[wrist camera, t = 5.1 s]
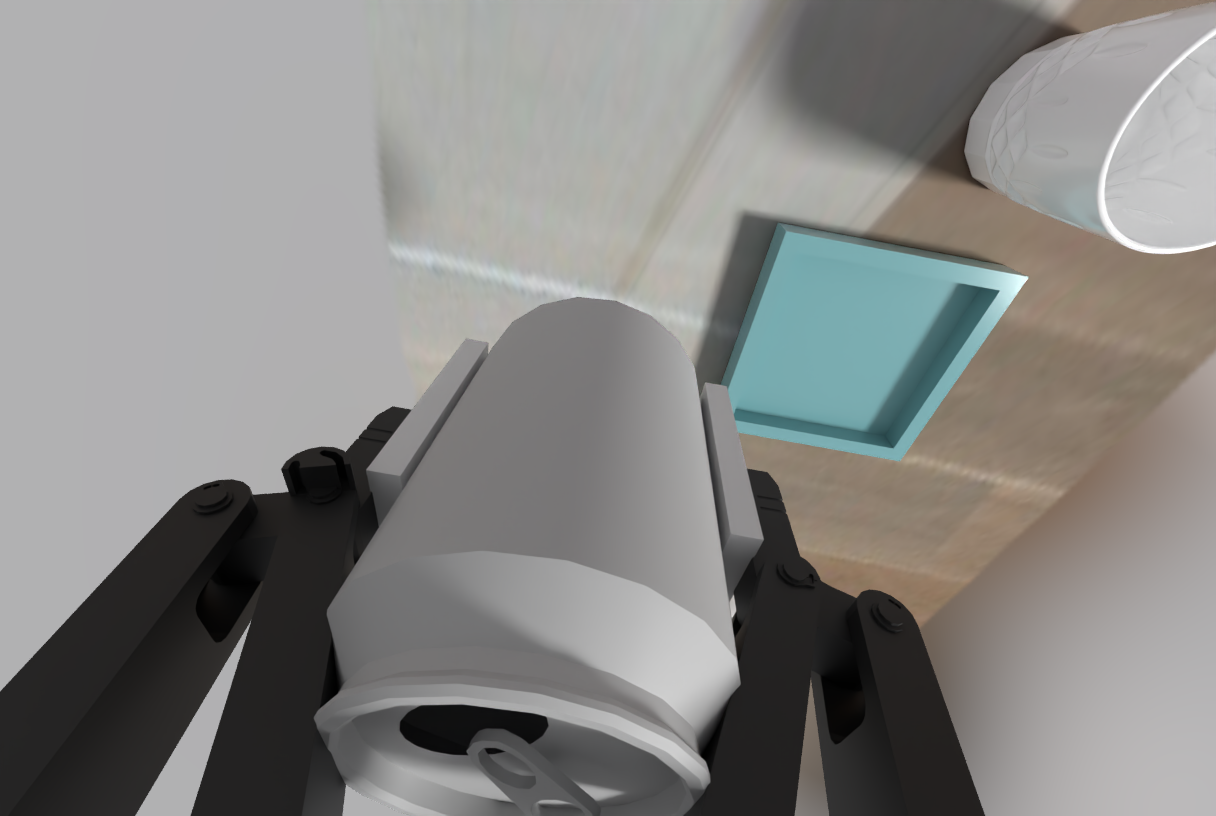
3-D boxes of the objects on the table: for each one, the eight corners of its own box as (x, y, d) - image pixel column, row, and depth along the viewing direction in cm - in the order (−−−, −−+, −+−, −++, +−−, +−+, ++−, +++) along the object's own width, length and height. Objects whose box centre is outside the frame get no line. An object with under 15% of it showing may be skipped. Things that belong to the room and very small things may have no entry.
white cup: (954, 226, 27) (1088, 285, 18) (946, 74, 23) (1110, 63, 15) (1122, 163, 24) (1361, 199, 16) (1145, -18, 20) (1474, -93, 12)
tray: (777, 222, 27) (786, 231, 26) (1005, 265, 28) (1028, 276, 26) (710, 411, 35) (713, 427, 34) (887, 443, 36) (899, 461, 34)
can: (602, 236, 14) (471, 603, 4) (738, 401, 17) (859, 848, 7) (451, 371, 17) (170, 758, 7) (587, 489, 20) (520, 881, 10)
